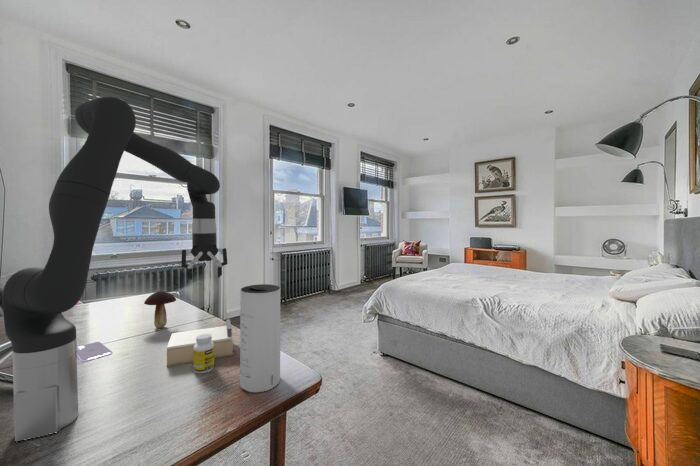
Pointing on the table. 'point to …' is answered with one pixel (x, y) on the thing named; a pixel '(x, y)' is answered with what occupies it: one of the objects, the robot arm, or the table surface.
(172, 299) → the decorative mushroom
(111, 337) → the table surface
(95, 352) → the mobile phone
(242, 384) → the speaker
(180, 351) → the light wooden open box
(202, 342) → the supplement bottle
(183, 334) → the mailer lid
